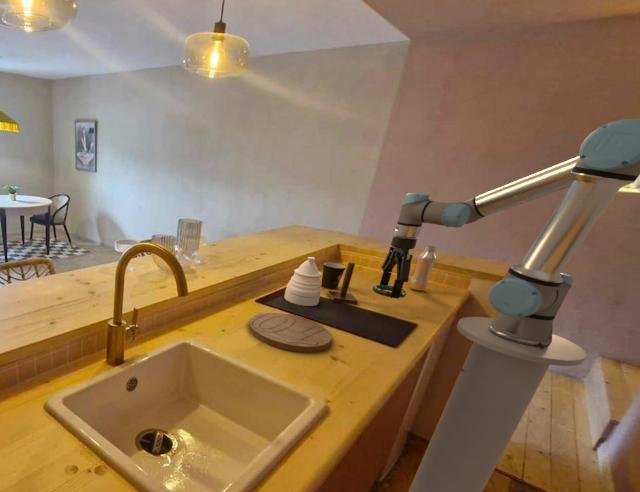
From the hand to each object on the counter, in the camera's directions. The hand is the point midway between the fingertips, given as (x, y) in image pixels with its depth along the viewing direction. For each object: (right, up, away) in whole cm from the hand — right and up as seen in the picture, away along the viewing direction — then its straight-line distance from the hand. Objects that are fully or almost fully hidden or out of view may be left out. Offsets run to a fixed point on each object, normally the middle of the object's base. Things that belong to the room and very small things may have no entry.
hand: (388, 292), depth 151 cm
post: (-13, -2, +9) cm, 16 cm away
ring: (0, +1, 0) cm, 1 cm away
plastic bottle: (+30, +2, +25) cm, 39 cm away
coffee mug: (-10, +3, +23) cm, 26 cm away
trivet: (-49, -14, -24) cm, 56 cm away
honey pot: (-31, -3, +6) cm, 32 cm away
